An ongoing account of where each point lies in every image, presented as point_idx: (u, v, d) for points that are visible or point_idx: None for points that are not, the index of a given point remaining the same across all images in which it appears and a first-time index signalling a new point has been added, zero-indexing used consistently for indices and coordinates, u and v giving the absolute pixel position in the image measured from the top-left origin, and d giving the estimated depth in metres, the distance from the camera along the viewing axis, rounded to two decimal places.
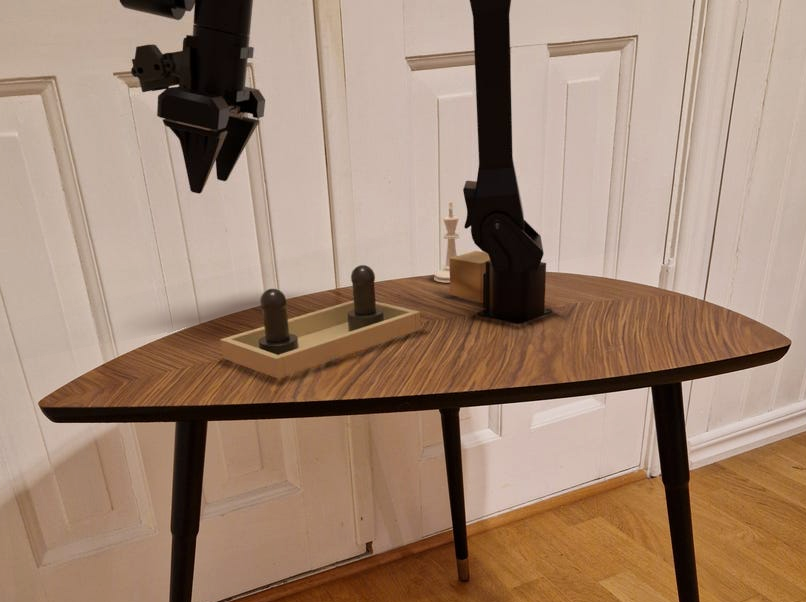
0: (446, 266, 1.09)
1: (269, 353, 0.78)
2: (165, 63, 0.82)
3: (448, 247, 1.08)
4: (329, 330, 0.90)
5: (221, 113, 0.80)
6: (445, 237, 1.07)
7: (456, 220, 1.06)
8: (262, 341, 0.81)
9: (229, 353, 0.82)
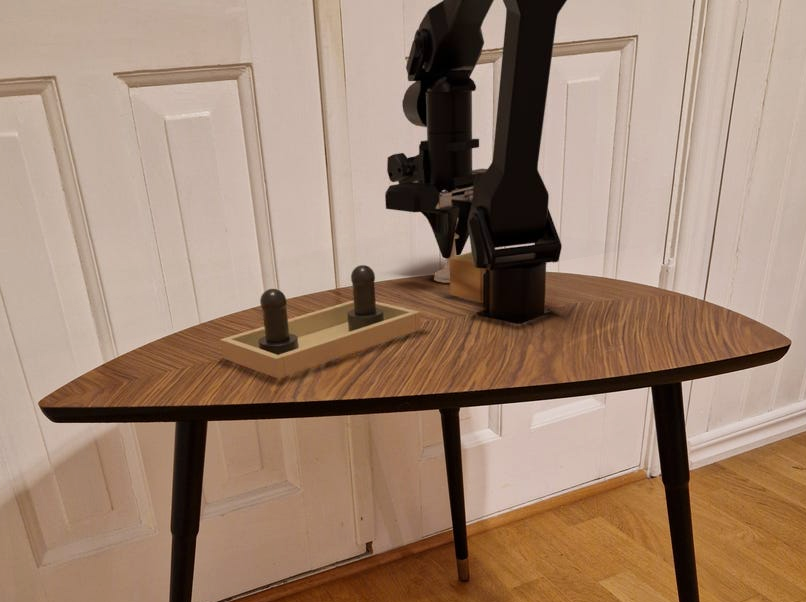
0: (446, 266, 1.09)
1: (269, 353, 0.78)
2: (406, 165, 1.05)
3: None
4: (329, 330, 0.90)
5: (425, 198, 0.98)
6: None
7: None
8: (262, 341, 0.81)
9: (229, 353, 0.82)
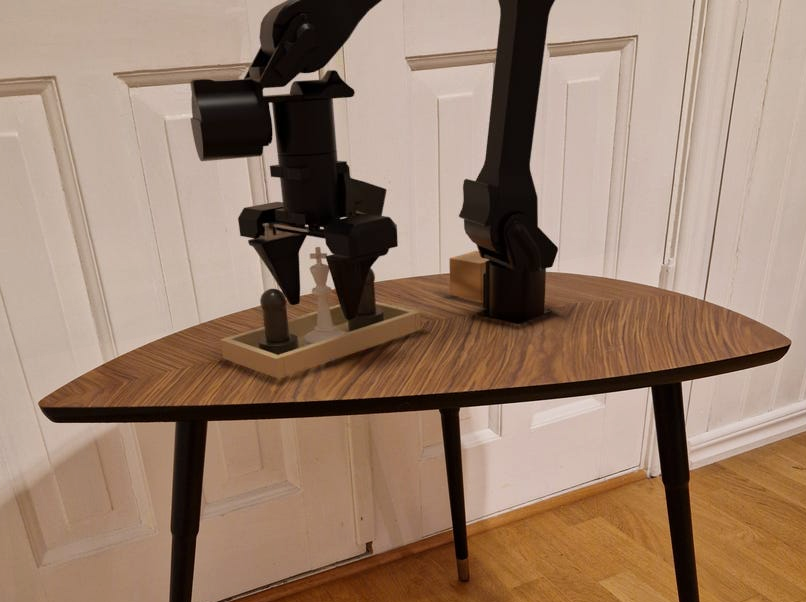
0: None
1: (269, 353, 0.78)
2: None
3: None
4: None
5: (242, 222, 0.84)
6: None
7: (312, 271, 0.82)
8: (262, 341, 0.81)
9: (229, 353, 0.82)
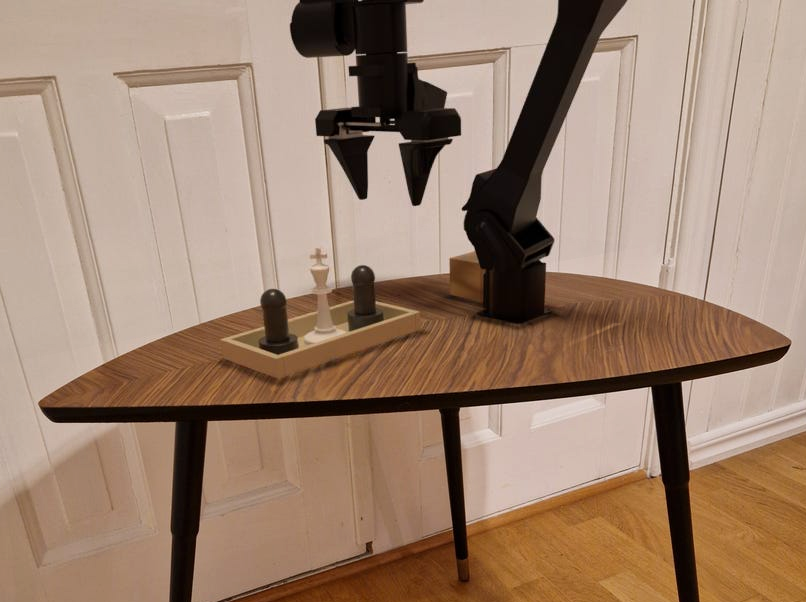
0: None
1: (269, 353, 0.78)
2: None
3: None
4: None
5: (319, 123, 0.95)
6: None
7: (312, 271, 0.82)
8: (262, 341, 0.81)
9: (229, 353, 0.82)
